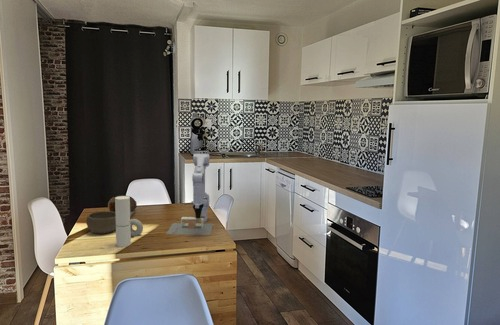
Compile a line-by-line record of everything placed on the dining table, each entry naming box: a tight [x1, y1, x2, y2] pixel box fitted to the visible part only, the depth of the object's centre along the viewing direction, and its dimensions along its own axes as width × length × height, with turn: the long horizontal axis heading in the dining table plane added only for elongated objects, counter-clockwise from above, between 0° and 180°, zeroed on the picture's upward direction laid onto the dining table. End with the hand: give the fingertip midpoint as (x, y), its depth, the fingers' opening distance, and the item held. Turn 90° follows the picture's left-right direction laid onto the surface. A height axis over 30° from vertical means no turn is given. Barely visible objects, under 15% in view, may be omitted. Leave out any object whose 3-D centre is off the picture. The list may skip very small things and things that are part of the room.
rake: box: [194, 215, 205, 223], centre depth 211 cm, size 10×6×7 cm, turn 2°
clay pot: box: [107, 194, 138, 217], centre depth 246 cm, size 15×15×25 cm
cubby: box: [165, 216, 214, 236], centre depth 217 cm, size 21×25×6 cm
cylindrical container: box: [115, 195, 132, 248], centre depth 190 cm, size 7×7×25 cm
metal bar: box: [171, 226, 178, 235], centre depth 213 cm, size 10×2×1 cm, turn 1°
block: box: [187, 220, 197, 229], centre depth 219 cm, size 4×4×4 cm
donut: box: [130, 218, 144, 237], centre depth 204 cm, size 10×4×10 cm, turn 79°
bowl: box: [86, 210, 116, 235], centre depth 211 cm, size 17×18×10 cm
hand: (198, 217), depth 207 cm, fingers closed on rake
